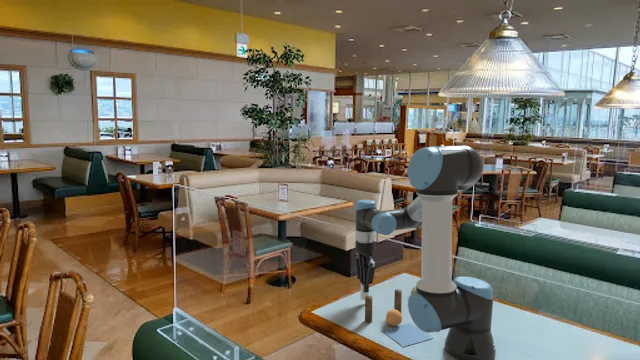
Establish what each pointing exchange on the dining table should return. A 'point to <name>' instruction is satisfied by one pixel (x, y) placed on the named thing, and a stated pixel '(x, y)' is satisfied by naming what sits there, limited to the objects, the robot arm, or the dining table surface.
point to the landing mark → (407, 334)
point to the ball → (394, 317)
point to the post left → (368, 309)
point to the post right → (398, 300)
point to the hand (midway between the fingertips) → (364, 298)
